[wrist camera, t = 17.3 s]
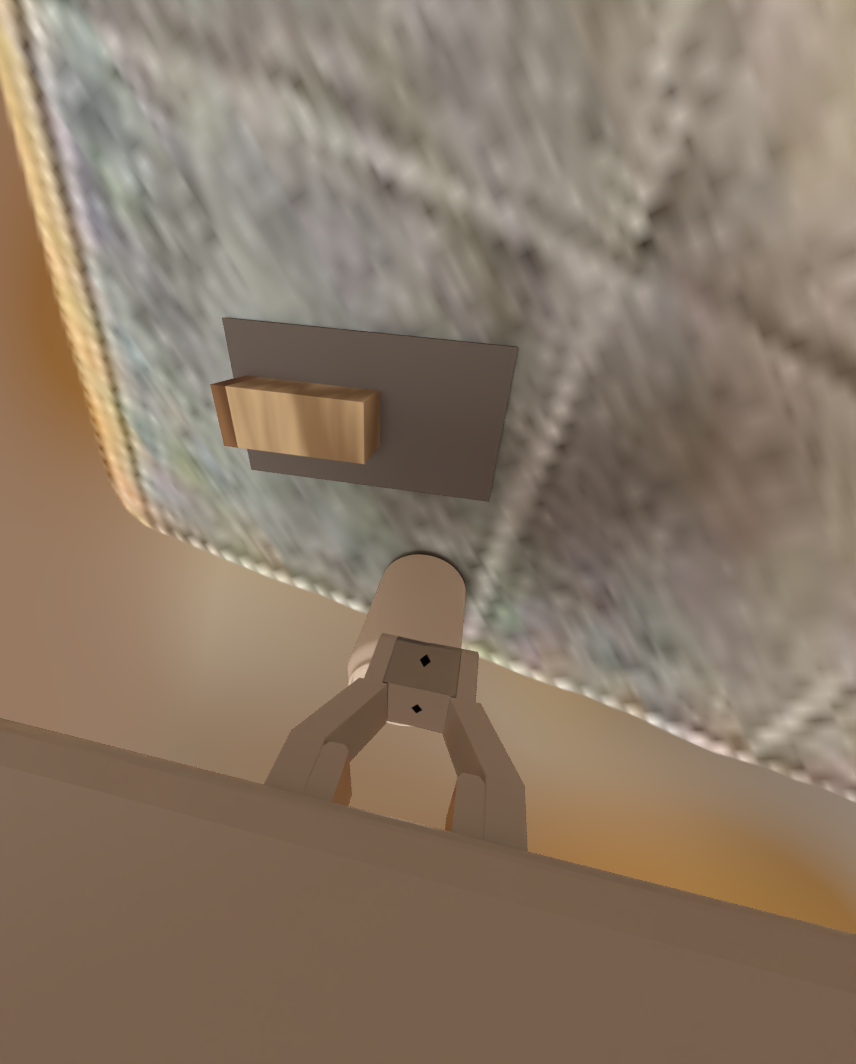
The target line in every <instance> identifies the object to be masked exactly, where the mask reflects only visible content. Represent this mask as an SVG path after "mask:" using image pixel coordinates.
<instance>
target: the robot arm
mask: <svg viewBox="0 0 856 1064" xmlns="http://www.w3.org/2000/svg"><path fill="white" fill-rule="evenodd" d="M478 659H479V654H478V652H475V651H470V650H465V649H461V648H456V647H451V646H446V645H440V644H435V643H427V642H422V641H418V640H413V639H409V638H404V637H400V636H395V635H390V634H386V633H382V634H381V636H380V637H379V640H378V642H377V645H376V648H375V650H374V653H373V656H372V658H371V661H370V664H369V666H368V669H367V672H366V674H365V677H364V678H358V679H357V680H355V681H354V682H353V683H352V684H350V685H349V686H348V687H347V688H345V689H344V690H343V691H341V692H340V693H339V694H337V695H336V696H335V697H334V698H332V699H331V700H330V701H328V702H327V703H326V704H325V705H323V706H322V707H321V708H319V709H318V710H317V711H316V712H314V713H313V714H312V715H310V716H309V717H308V718H307V719H305V720H304V721H303V722H301V723H300V724H299V725H298V726H296V727H295V728H294V729H292V730H291V732H290V734H289V736H288V738H287V740H286V742H285V744H284V746H283V747H282V750H281V752H280V754H279V755H278V758H277V759H276V761H275V763H274V765H273V767H272V769H271V771H270V773H269V775H268V777H267V779H266V781H265V783H264V784H260V783H256V782H252V781H248V780H244V779H240V778H236V777H232V776H228V775H224V774H220V773H216V772H212V771H208V770H204V769H200V768H197V767H193V766H188V765H185V764H181V763H177V762H173V761H168V760H165V759H160V758H157V757H153V756H149V755H145V754H141V753H137V752H133V751H129V750H125V749H121V748H117V747H113V746H110V745H105V744H101V743H97V742H93V741H90V740H85V739H82V738H78V737H74V736H70V735H66V734H62V733H58V732H54V731H50V730H46V729H42V728H38V727H34V726H30V725H26V724H22V723H18V722H14V721H10V720H6V719H2V718H0V1064H856V934H852V933H848V932H844V931H840V930H836V929H832V928H828V927H824V926H820V925H817V924H813V923H809V922H805V921H801V920H797V919H793V918H789V917H785V916H781V915H777V914H773V913H769V912H765V911H761V910H757V909H753V908H749V907H745V906H742V905H738V904H734V903H730V902H726V901H722V900H718V899H714V898H710V897H706V896H702V895H698V894H694V893H690V892H686V891H682V890H678V889H674V888H670V887H667V886H663V885H659V884H655V883H651V882H647V881H643V880H639V879H634V878H631V877H627V876H623V875H619V874H615V873H611V872H607V871H603V870H599V869H596V868H592V867H587V866H584V865H580V864H575V863H572V862H568V861H564V860H560V859H556V858H552V857H548V856H544V855H540V854H536V853H532V852H528V850H527V849H528V848H527V828H526V805H525V786H524V784H523V782H522V780H521V778H520V776H519V774H518V772H517V771H516V769H515V767H514V765H513V763H512V761H511V759H510V757H509V756H508V754H507V752H506V750H505V748H504V746H503V744H502V743H501V741H500V739H499V737H498V735H497V733H496V731H495V729H494V728H493V726H492V724H491V722H490V720H489V718H488V716H487V714H486V713H485V711H484V709H483V707H482V705H481V704H480V703H477V702H476V689H477V675H478ZM386 721H389V722H394V723H400V724H405V725H410V726H415V727H419V728H423V729H427V730H431V731H435V732H439V733H443V737H444V740H445V743H446V746H447V748H448V751H449V754H450V757H451V760H452V762H453V765H454V768H455V771H456V774H457V777H458V778H457V781H456V785H455V788H454V792H453V795H452V799H451V803H450V806H449V810H448V813H447V817H446V824H445V830H442V829H438V828H434V827H430V826H426V825H422V824H418V823H414V822H410V821H406V820H402V819H398V818H394V817H390V816H386V815H382V814H378V813H374V812H370V811H366V810H363V809H358V808H355V807H351V806H349V803H350V799H351V796H352V791H351V790H352V789H351V777H350V761H351V760H352V759H353V758H354V757H355V756H356V755H357V754H358V753H359V752H360V751H361V750H362V748H363V747H364V746H365V745H366V744H367V743H368V742H369V741H370V740H371V739H372V738H373V737H374V736H375V735H376V734H377V732H378V731H379V730H380V729H381V728H382V727H383V726H384V725H385V724H386Z"/></svg>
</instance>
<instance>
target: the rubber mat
mask: <svg viewBox="0 0 856 1064" xmlns="http://www.w3.org/2000/svg"><path fill="white" fill-rule="evenodd" d="M222 320H223V325H224V331H225V336H226V341H227V346H228V351H229V356H230V362H231V367H232V372H233V377H234V378H238V377H242V376H246V375H247V376H256V377H265V378H273V379H282V380H291V381H299V382H308V383H317V384H326V385H334V386H343V387H352V388H361V389H369V390H378V391H380V446H379V447H378V448H377V450H376V451H375V452H374V453H373V454H372V456H371V457H370V458H369V459H368V460H367V462H366V463H365V464H359V463H352V462H344V461H336V460H329V459H321V458H314V457H306V456H298V455H291V454H283V453H276V452H268V451H260V450H253V449H248V455H249V460H250V465H251V470H258V471H266V472H273V473H281V474H288V475H296V476H303V477H310V478H318V479H325V480H333V481H340V482H347V483H355V484H362V485H370V486H377V487H384V488H392V489H399V490H407V491H414V492H421V493H429V494H436V495H444V496H451V497H458V498H466V499H473V500H481V501H488V502H489V498H490V493H491V488H492V482H493V477H494V472H495V467H496V461H497V456H498V451H499V446H500V440H501V435H502V430H503V425H504V419H505V414H506V409H507V404H508V398H509V393H510V388H511V383H512V377H513V372H514V367H515V362H516V356H517V351H518V347H514V346H504V345H494V344H484V343H474V342H464V341H454V340H444V339H434V338H425V337H415V336H405V335H395V334H385V333H375V332H365V331H355V330H345V329H335V328H325V327H315V326H305V325H295V324H285V323H275V322H265V321H255V320H245V319H236V318H222Z"/></svg>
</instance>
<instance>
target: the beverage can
mask: <svg viewBox="0 0 856 1064" xmlns="http://www.w3.org/2000/svg"><path fill="white" fill-rule="evenodd" d="M465 595H466V589H465V584H464V581H463V579H462V577H461V576H460V574H459V573H458V571H457V570H456V569H455V568H454V567H452V566H451V565H450V564H449V563H447V562H445V561H444V560H441V559H439V558H437V557H433V556H429V555H421V554H416V555H409V556H405V557H402V558H400V559H398V560H396V561H394V562H393V563H392V564H390V565H389V566H388V568H387V569H386V571H385V572H384V574H383V577H382V579H381V582H380V584H379V587H378V589H377V592H376V594H375V597H374V599H373V602H372V604H371V607H370V609H369V612H368V614H367V617H366V619H365V622H364V625H363V627H362V630H361V632H360V634H359V637H358V639H357V642H356V644H355V647H354V649H353V652H352V654H351V657H350V659H349V664H348V676H349V683H348V686H349V685H350V684H352V683H353V682H354V681H355V680H357V679H358V678H364V677H365V674H366V672H367V669H368V666H369V664H370V661H371V658H372V656H373V653H374V650H375V648H376V645H377V642H378V640H379V637H380V636H381V634H382V633H386V634H390V635H395V636H400V637H404V638H409V639H413V640H418V641H422V642H427V643H435V644H440V645H446V646H451V647H456V648H461V646H462V633H463V621H464V608H465ZM386 722H387V723H391V724H395V725H401V726H410V725H405V724H400V723H394V722H389V721H386Z"/></svg>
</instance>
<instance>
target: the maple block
mask: <svg viewBox="0 0 856 1064" xmlns="http://www.w3.org/2000/svg"><path fill="white" fill-rule="evenodd" d="M210 385H211V389H212V394H213V398H214V403H215V407H216V411H217V416H218V420H219V425H220V429H221V433H222V438H223V442H224V446H230V447H237V448H245V449H253V450H260V451H268V452H276V453H283V454H291V455H298V456H306V457H314V458H321V459H329V460H336V461H344V462H352V463H359V464H365V463H366V462H367V460H368V459H369V458H370V457H371V456H372V454H373V453H374V452H375V451H376V450H377V448H378V447H379V446H380V391H378V390H369V389H361V388H352V387H343V386H334V385H326V384H317V383H308V382H299V381H291V380H282V379H273V378H265V377H256V376H247V375H246V376H242V377H238V378H234V379H230V380H226V381H222V382H218V383H214V384H210Z"/></svg>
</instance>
